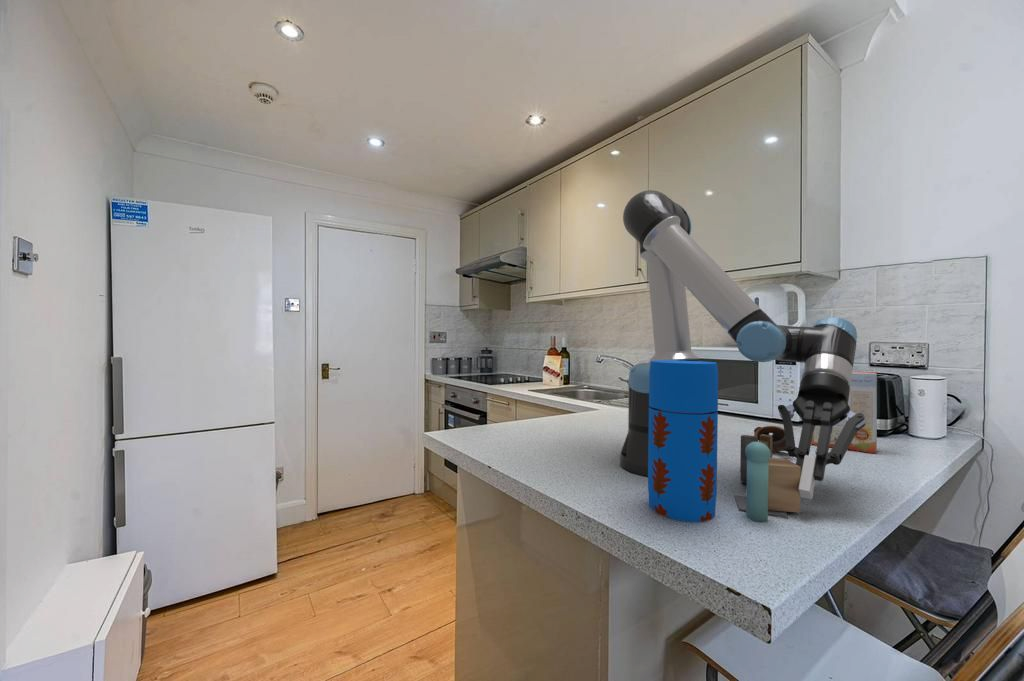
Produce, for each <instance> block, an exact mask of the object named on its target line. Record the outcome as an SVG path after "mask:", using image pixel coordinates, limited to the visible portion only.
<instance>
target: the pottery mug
mask: <svg viewBox="0 0 1024 681" xmlns="http://www.w3.org/2000/svg"><path fill="white" fill-rule="evenodd" d="M753 433H754V434H753V436H755V437H758V441H760V435H761V434H765V435H770V434H771V435H772V436H773V444H772V454H775V453H777V452H787V453H788V451H787V448H786V442H785V433H784V427H783V428H782V427H780V426H776V425H766V426H757V427H755V428H754V430H753Z"/></svg>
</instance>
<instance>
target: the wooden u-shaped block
mask: <svg viewBox="0 0 1024 681" xmlns="http://www.w3.org/2000/svg"><path fill="white" fill-rule="evenodd" d="M758 441H759V440H758V437H755V436H754V435H749V434H743V435H740V458H739V459H740V463H739V464H740V465H739V468H740V469H739V470H740V471H739V474H740V475H739V477H740V478H739V479H740V480H739V481H740V482H741V483H744V484H747V457H746V455H745V449H746V446H747V445H748V444H749V443H751V442H758ZM800 479H801V467H800V466H798V465H796V462H795V463H794V462H793V461H791V460H789V459H787V458H783V457H772V458H770V459H769V464H768V510H773V511H785V512H786V513H788V512H789V513H801V496H800V492H799V484H800Z"/></svg>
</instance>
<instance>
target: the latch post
mask: <svg viewBox="0 0 1024 681" xmlns="http://www.w3.org/2000/svg"><path fill="white" fill-rule="evenodd" d="M745 455H746V457H747V483H746V496H747V498H746V512H745V514H746V515H745V516H746V518H748V519H749V518H750V520H752V521H756V522H760V521H761V522H762V523H763V521H765V522H767V521H768V520H769V519H768V518H769V517H768V516H769V515H768V464H769V459H770V457H771V452H770V449H769V448H768V447H767V446H766V445H765V444H764V443H761V442H751V443H749V444H748V445H747V446H746V449H745Z"/></svg>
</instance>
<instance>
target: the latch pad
mask: <svg viewBox="0 0 1024 681" xmlns="http://www.w3.org/2000/svg"><path fill="white" fill-rule="evenodd" d="M733 497H734V500H735V502H736V506H737V508H739V509H738V512H745V513H746V498H747V495H739V494H734V495H733ZM771 515H774V516H773V517H778V516H780V517H779V518H786V517H787V518H786V519H789V515H788V514H787V512H786V511H773V510H768V516H771Z"/></svg>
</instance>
